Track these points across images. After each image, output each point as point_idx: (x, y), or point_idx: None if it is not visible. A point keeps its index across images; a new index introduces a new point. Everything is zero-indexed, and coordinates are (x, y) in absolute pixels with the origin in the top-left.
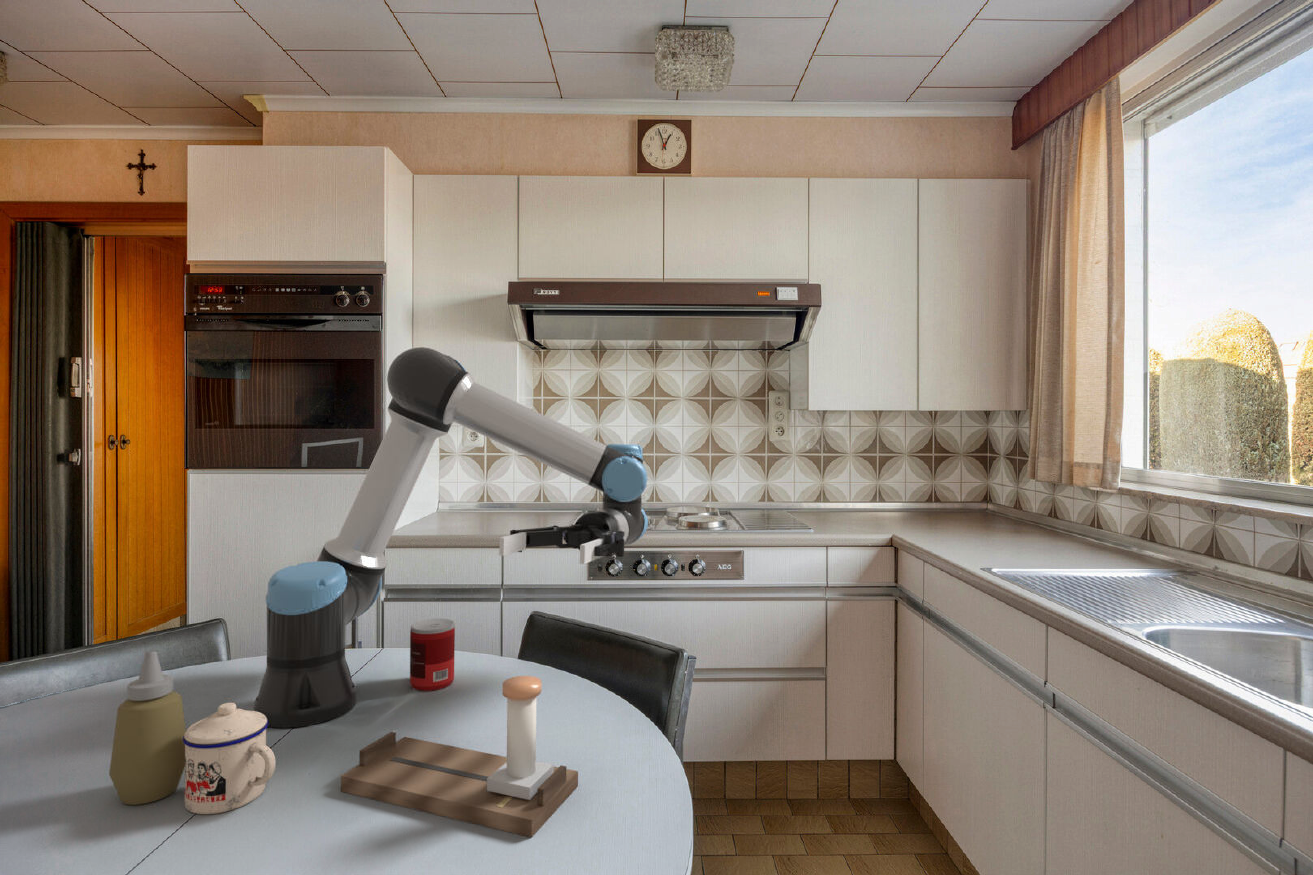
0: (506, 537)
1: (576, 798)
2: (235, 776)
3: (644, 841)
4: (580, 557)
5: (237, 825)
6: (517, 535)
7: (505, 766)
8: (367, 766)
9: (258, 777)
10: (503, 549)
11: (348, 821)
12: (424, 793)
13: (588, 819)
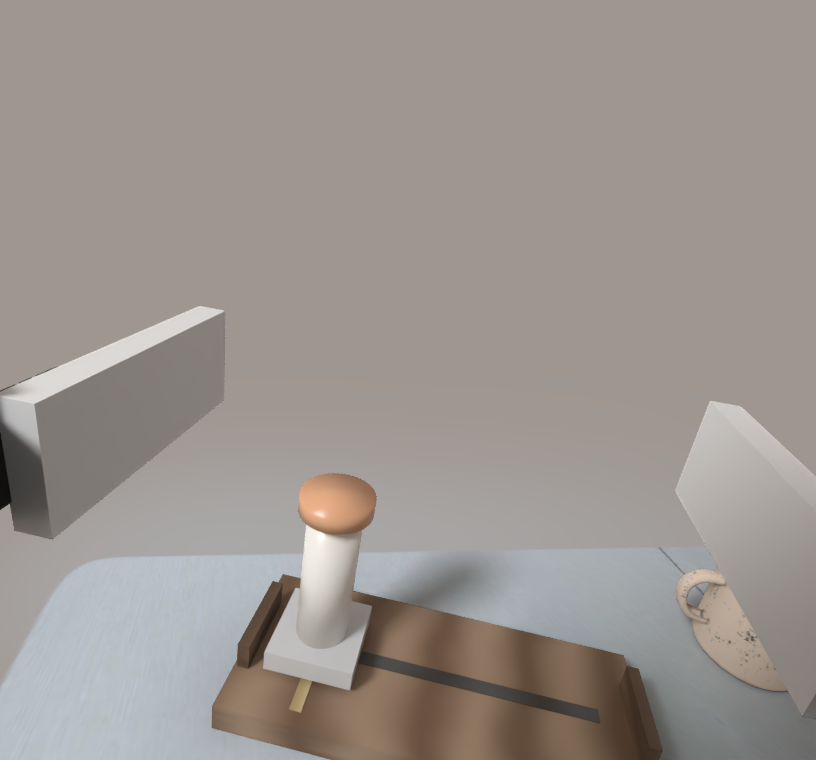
0: (719, 411)
1: (215, 686)
2: (707, 588)
3: (114, 592)
4: (221, 371)
5: (650, 598)
6: (783, 486)
7: (354, 640)
8: (613, 685)
9: (704, 618)
10: (687, 460)
11: (536, 610)
12: (463, 620)
13: (196, 632)
